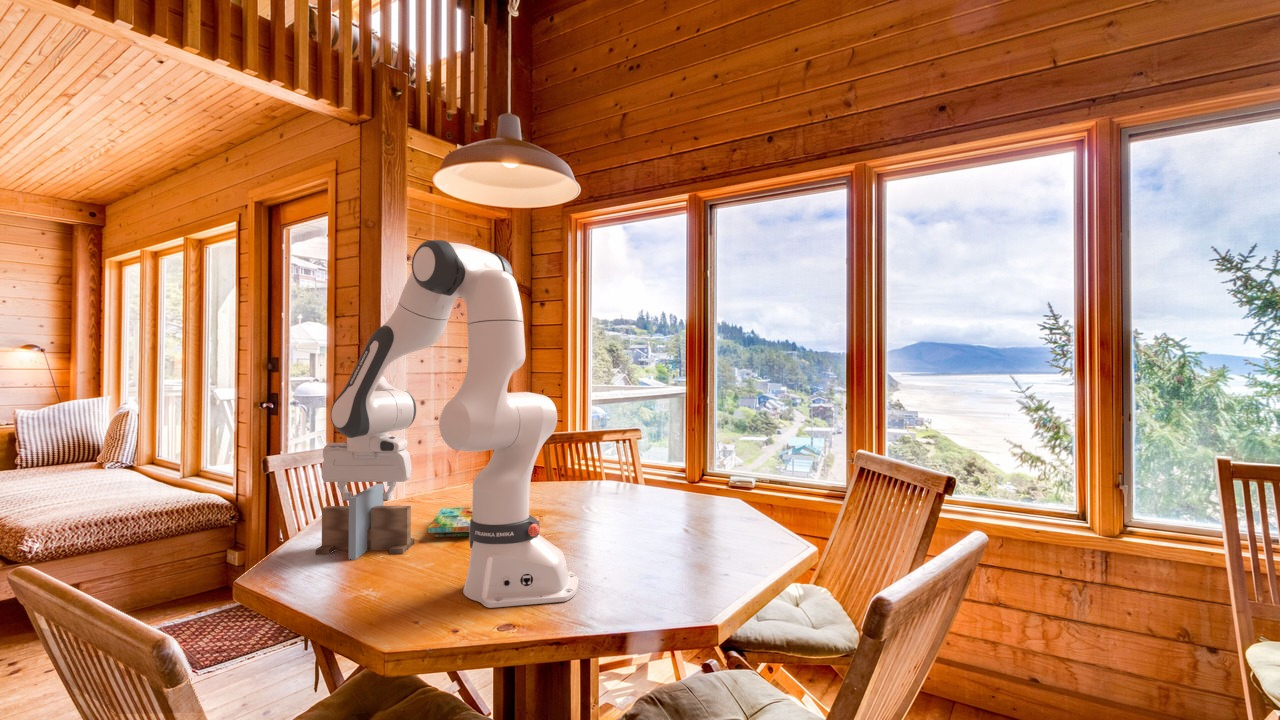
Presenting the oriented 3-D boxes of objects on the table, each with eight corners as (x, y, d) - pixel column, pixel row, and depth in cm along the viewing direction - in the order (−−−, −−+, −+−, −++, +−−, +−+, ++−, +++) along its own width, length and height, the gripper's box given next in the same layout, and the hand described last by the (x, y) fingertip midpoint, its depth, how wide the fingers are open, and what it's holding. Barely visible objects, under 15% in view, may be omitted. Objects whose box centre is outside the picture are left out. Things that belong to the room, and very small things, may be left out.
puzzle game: (484, 503, 170) (476, 522, 151) (484, 520, 170) (475, 541, 151) (442, 505, 169) (427, 524, 149) (442, 521, 169) (427, 543, 149)
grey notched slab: (355, 559, 135) (356, 498, 135) (348, 559, 135) (348, 498, 135) (383, 538, 151) (383, 483, 151) (376, 538, 151) (377, 483, 151)
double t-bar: (414, 543, 147) (414, 503, 147) (402, 553, 139) (403, 511, 139) (332, 543, 147) (332, 503, 147) (315, 554, 139) (316, 511, 139)
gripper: (316, 444, 140) (316, 503, 139) (405, 444, 140) (404, 503, 140) (329, 440, 146) (329, 497, 146) (414, 440, 147) (413, 496, 147)
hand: (366, 500), depth 143 cm, fingers open, 8 cm apart
